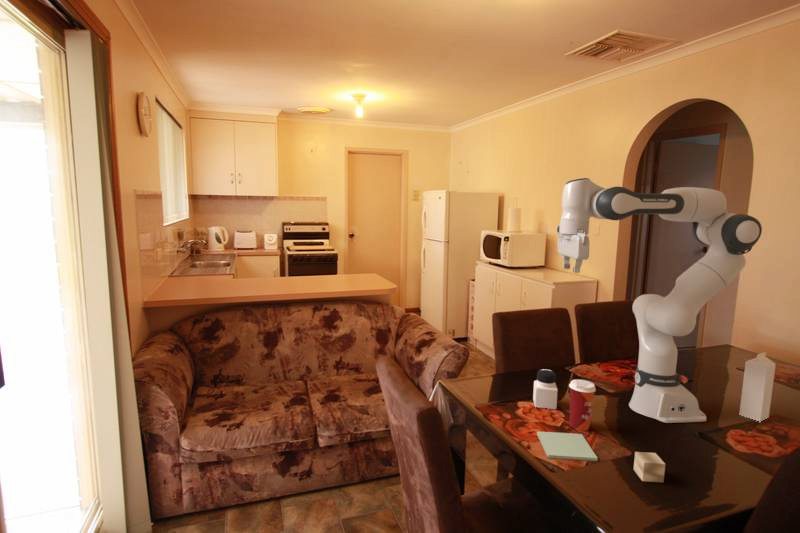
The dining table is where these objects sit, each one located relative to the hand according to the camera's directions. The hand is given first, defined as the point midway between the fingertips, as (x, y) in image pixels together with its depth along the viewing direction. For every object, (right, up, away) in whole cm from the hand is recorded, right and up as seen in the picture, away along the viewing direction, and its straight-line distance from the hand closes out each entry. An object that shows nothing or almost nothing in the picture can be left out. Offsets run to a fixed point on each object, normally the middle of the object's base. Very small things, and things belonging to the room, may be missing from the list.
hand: (571, 270), depth 145 cm
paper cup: (-1, -49, -8) cm, 49 cm away
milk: (+61, -49, +1) cm, 78 cm away
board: (-10, -50, -21) cm, 55 cm away
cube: (+6, -52, -34) cm, 62 cm away
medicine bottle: (-7, -47, +7) cm, 48 cm away
